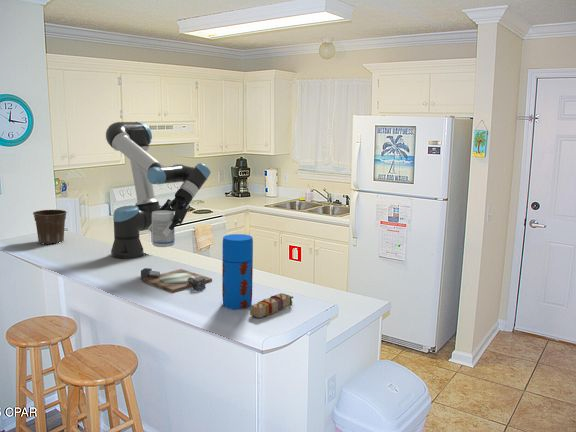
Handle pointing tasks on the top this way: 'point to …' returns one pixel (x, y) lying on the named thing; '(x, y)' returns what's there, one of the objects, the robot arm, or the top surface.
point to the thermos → (237, 271)
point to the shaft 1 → (149, 273)
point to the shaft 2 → (197, 283)
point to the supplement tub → (162, 228)
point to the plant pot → (50, 225)
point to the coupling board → (174, 280)
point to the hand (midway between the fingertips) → (157, 232)
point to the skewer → (271, 305)
